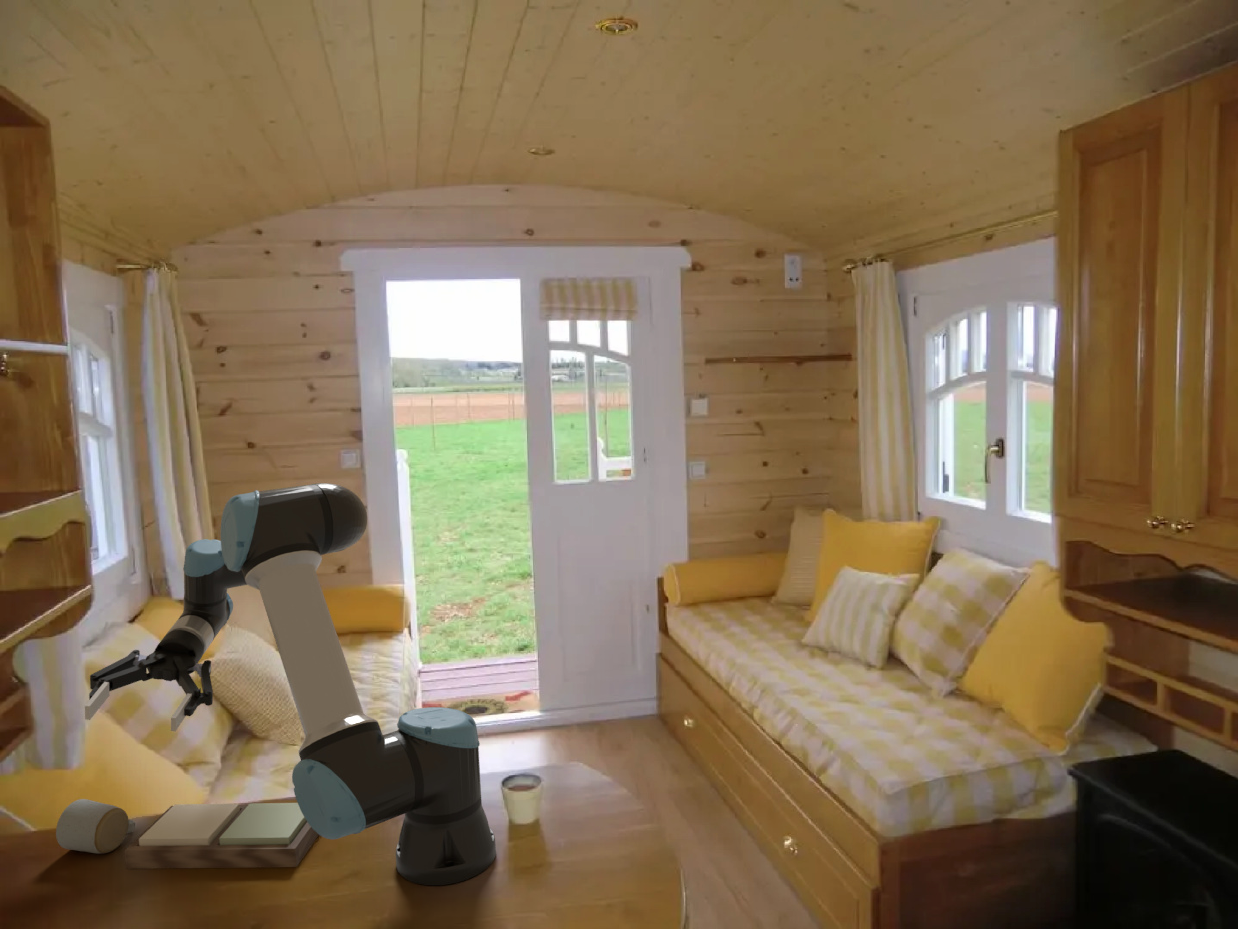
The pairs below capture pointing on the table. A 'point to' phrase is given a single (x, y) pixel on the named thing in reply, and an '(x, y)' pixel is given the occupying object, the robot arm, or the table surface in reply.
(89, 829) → the ceramic mug
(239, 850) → the key pad frame
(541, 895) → the table surface
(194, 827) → the cream key
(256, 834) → the sage key
